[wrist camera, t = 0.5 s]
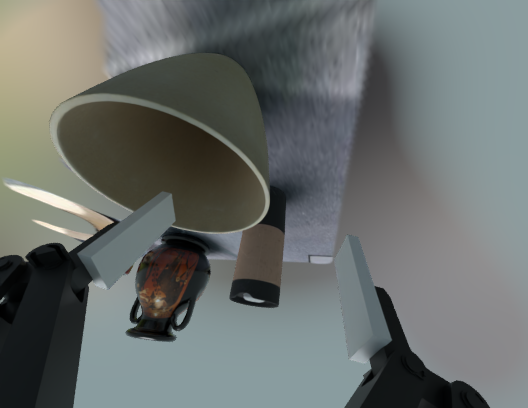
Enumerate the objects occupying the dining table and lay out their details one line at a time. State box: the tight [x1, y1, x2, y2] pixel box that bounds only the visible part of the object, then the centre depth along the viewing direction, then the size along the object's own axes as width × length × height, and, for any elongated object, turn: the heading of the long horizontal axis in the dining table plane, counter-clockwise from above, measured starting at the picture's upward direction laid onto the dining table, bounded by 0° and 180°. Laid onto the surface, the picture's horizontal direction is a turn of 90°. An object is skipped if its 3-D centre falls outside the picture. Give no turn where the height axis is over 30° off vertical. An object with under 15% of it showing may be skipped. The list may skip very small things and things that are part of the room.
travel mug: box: [230, 186, 286, 308], centre depth 34 cm, size 8×8×20 cm
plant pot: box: [49, 53, 270, 234], centre depth 19 cm, size 15×15×16 cm
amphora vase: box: [126, 234, 211, 342], centre depth 60 cm, size 22×22×28 cm
